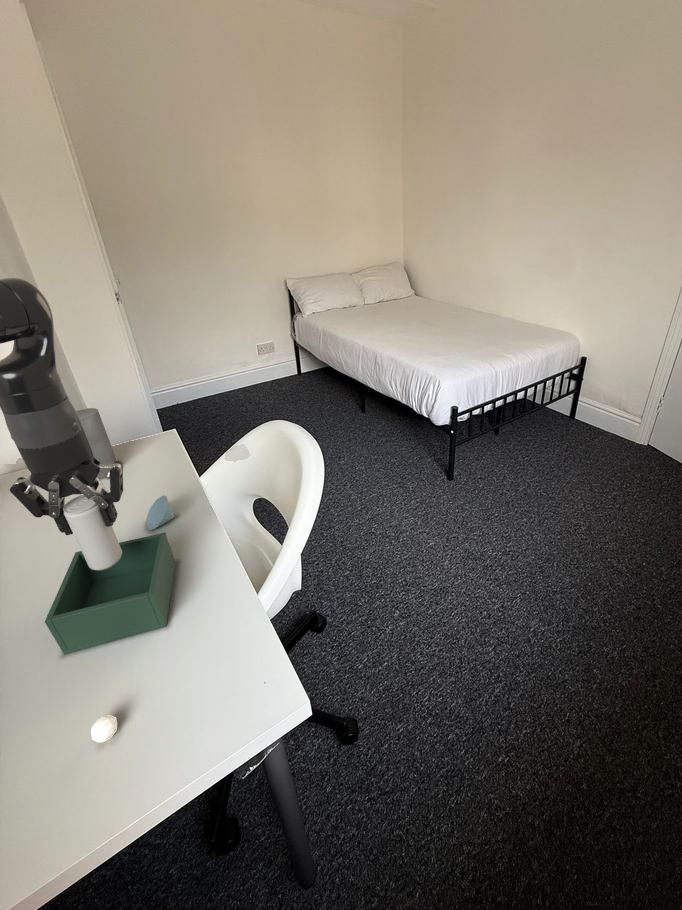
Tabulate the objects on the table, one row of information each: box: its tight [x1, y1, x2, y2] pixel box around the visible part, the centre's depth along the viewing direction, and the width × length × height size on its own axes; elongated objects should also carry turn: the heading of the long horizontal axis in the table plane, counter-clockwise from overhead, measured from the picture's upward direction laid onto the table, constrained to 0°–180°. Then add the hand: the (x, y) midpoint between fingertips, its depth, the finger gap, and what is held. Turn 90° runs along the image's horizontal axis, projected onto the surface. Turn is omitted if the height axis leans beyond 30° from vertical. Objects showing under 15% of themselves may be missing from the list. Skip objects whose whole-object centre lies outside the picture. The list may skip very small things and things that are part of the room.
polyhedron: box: [90, 714, 118, 744], centre depth 54 cm, size 3×3×3 cm
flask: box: [76, 407, 118, 480], centre depth 103 cm, size 15×6×20 cm, turn 114°
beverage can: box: [63, 494, 122, 570], centre depth 65 cm, size 5×5×12 cm
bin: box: [44, 532, 177, 656], centre depth 71 cm, size 15×15×8 cm
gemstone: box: [146, 495, 176, 531], centre depth 91 cm, size 8×8×5 cm
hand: (91, 526), depth 65 cm, fingers closed on beverage can, 5 cm apart
